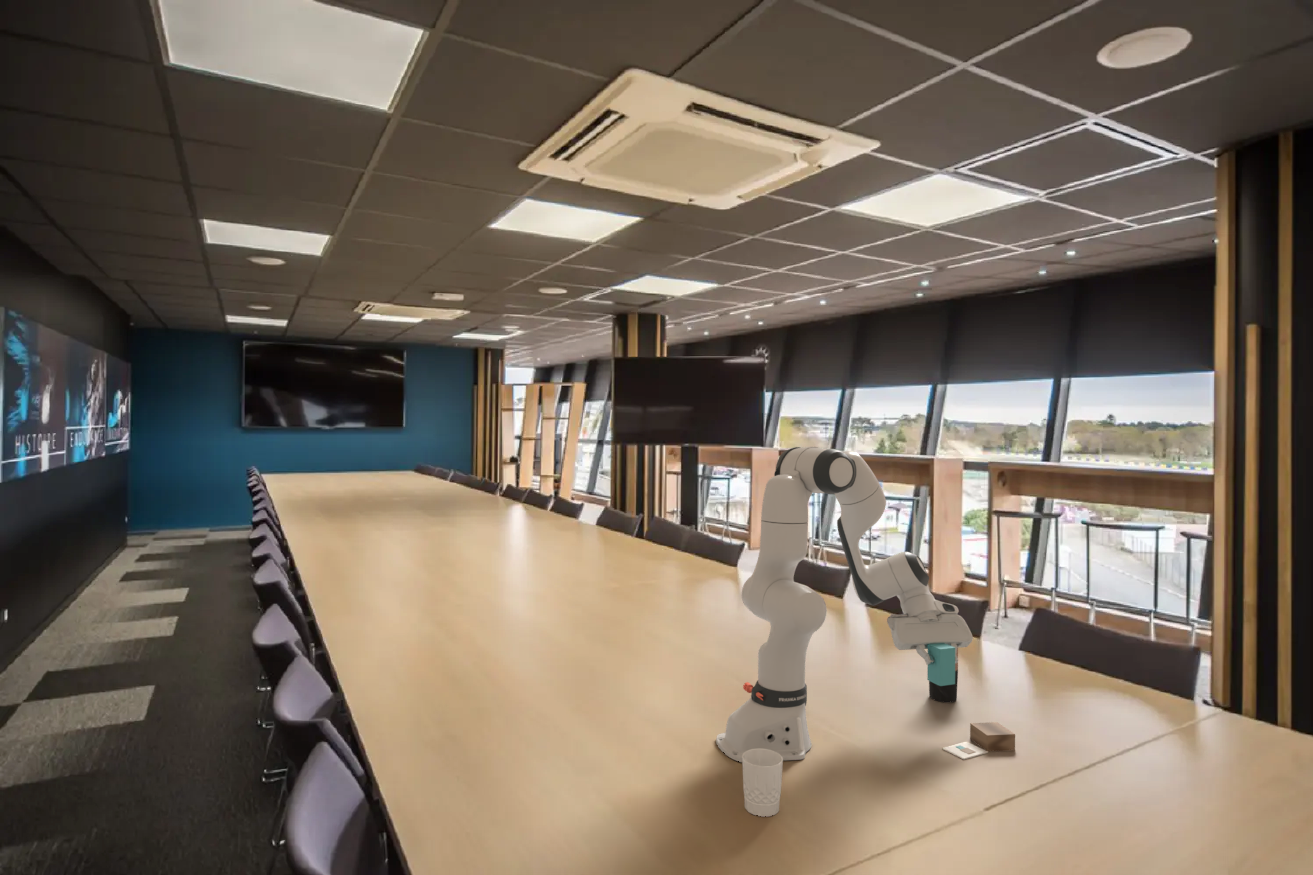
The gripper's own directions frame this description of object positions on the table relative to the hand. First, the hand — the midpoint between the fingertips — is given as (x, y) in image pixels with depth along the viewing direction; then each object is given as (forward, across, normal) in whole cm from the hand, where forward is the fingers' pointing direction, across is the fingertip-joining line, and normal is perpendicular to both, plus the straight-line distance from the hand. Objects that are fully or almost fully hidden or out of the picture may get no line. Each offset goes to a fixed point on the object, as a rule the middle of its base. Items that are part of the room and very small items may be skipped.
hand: (942, 662), depth 173 cm
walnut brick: (+18, +8, +7) cm, 21 cm away
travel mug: (-3, +14, +28) cm, 31 cm away
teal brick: (+3, 0, +4) cm, 5 cm away
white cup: (+32, -55, -7) cm, 64 cm away
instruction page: (+19, 0, +5) cm, 20 cm away
